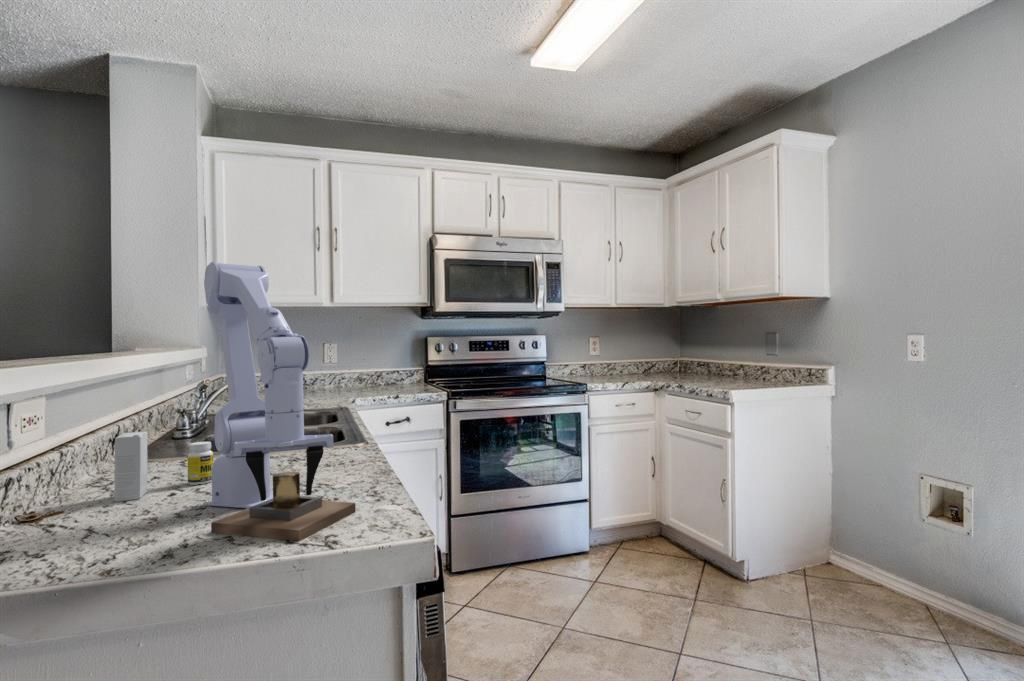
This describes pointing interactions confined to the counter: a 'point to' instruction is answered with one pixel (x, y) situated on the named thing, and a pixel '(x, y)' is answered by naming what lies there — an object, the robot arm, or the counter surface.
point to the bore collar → (282, 514)
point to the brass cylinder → (286, 490)
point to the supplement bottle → (200, 463)
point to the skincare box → (130, 466)
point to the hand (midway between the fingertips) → (286, 496)
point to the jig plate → (284, 522)
